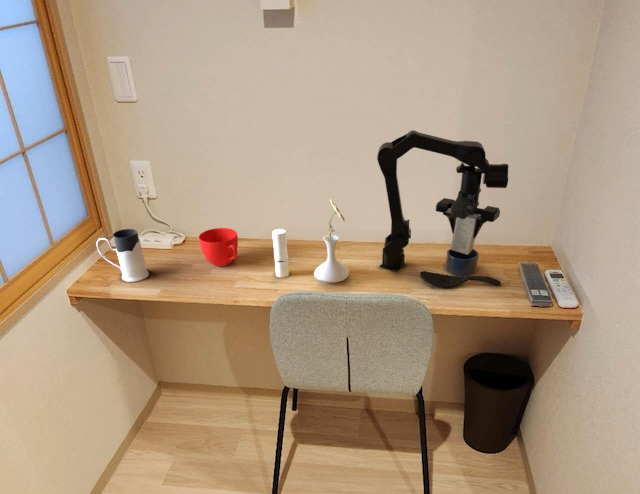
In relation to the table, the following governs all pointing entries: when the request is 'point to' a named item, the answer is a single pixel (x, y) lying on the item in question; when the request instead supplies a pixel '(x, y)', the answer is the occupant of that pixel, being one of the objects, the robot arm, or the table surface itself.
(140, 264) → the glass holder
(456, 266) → the crock
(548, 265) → the table surface
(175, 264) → the table surface
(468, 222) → the cosmetic box
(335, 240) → the flower in vase
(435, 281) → the hairbrush
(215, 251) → the ceramic cup
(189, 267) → the table surface
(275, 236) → the tube
